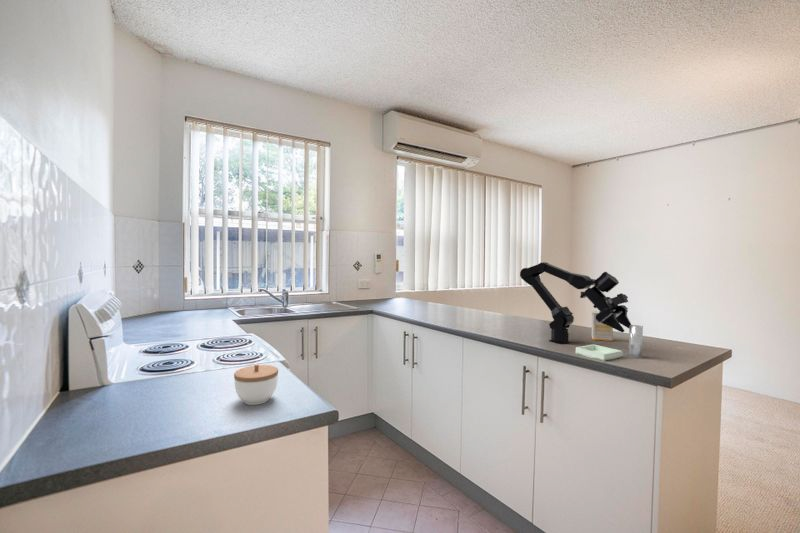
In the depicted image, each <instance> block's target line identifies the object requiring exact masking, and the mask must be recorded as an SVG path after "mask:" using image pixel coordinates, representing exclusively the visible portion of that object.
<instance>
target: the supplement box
mask: <svg viewBox="0 0 800 533" xmlns="http://www.w3.org/2000/svg"><path fill="white" fill-rule="evenodd" d="M599 312H600V311H599V310H598V311H597V310H596V311H595V310H592V311H591V339H592V340H593V341H601V340H602V341H603V342H613V341H614V340H613V339H614V328H612V327H610V326H608V325H605V324H602V323H601V322H598V321H597V320H596V315H597V314H598V313H599ZM603 321H604V320H603ZM602 341H601V342H602Z"/></svg>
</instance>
